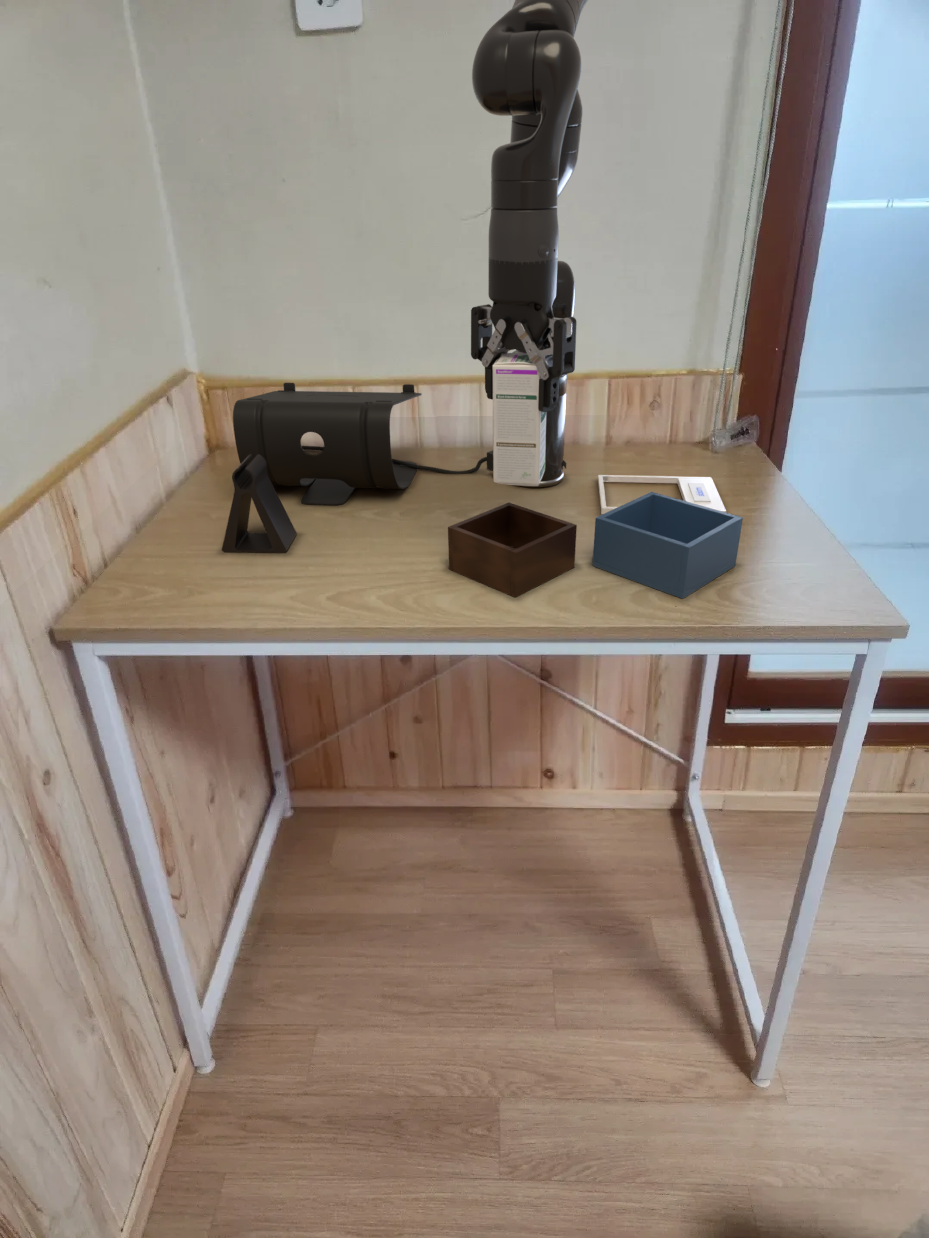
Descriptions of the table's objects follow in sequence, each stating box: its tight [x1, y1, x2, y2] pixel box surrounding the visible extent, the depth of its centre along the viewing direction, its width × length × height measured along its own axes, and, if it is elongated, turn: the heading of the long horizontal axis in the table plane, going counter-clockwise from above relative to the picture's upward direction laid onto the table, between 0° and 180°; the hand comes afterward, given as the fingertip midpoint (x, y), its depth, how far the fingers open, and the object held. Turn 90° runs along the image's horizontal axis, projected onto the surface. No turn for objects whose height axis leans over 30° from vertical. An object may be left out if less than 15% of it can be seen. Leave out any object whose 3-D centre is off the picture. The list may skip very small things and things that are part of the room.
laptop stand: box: [232, 382, 422, 506], centre depth 136 cm, size 26×24×16 cm
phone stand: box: [221, 454, 298, 554], centre depth 115 cm, size 9×6×12 cm, turn 86°
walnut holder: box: [447, 502, 578, 598], centre depth 108 cm, size 12×12×6 cm
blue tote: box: [591, 491, 744, 600], centre depth 108 cm, size 14×13×7 cm
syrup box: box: [492, 352, 548, 487], centre depth 100 cm, size 6×6×14 cm
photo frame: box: [597, 474, 727, 515], centre depth 131 cm, size 15×1×18 cm
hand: (520, 404), depth 100 cm, fingers closed on syrup box, 7 cm apart
